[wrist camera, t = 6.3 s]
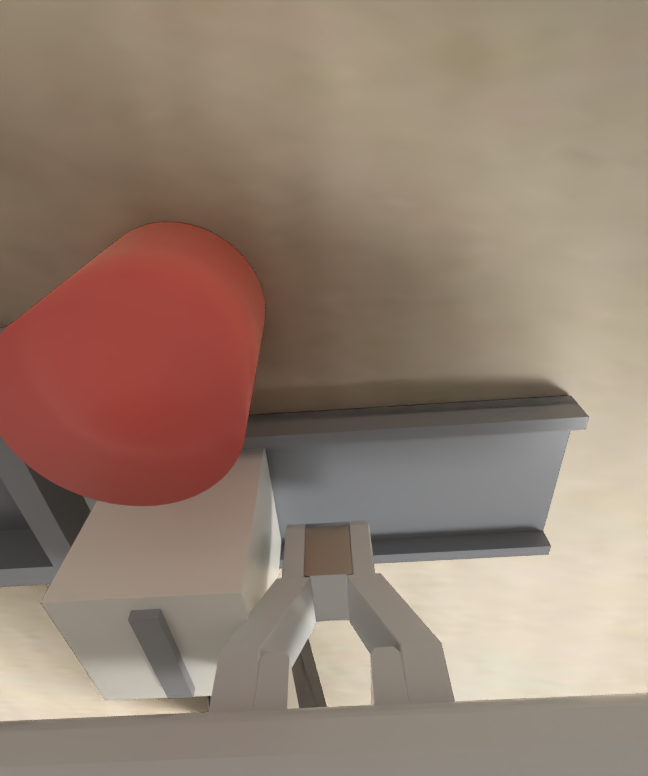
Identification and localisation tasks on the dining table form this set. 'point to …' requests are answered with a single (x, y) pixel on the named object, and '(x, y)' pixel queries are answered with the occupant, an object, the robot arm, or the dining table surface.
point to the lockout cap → (137, 369)
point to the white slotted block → (167, 584)
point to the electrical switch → (305, 680)
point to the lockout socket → (34, 522)
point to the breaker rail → (422, 473)
